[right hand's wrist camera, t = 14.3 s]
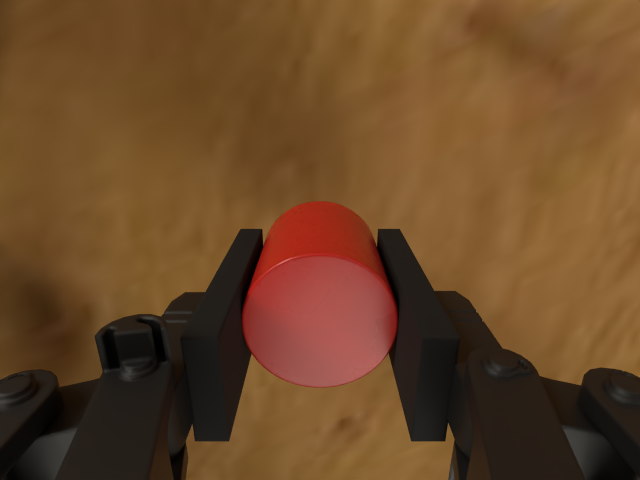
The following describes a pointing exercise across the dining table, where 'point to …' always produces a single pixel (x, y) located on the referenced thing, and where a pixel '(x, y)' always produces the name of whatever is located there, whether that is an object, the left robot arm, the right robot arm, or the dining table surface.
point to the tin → (319, 299)
